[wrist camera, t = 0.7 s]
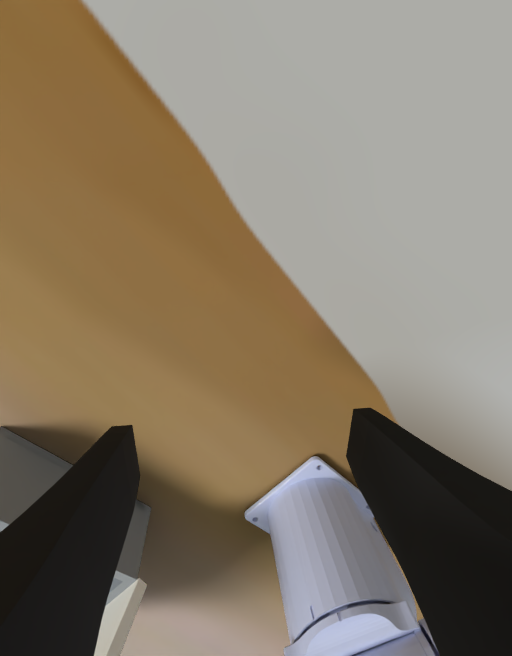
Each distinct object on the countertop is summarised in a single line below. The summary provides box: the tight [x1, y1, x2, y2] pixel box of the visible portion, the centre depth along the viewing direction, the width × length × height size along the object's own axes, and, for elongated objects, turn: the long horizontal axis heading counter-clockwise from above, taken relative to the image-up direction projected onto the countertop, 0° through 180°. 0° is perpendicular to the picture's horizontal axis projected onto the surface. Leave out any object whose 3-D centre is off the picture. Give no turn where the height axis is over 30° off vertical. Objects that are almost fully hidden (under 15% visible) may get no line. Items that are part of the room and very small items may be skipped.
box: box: [0, 426, 151, 605], centre depth 21 cm, size 12×14×5 cm
